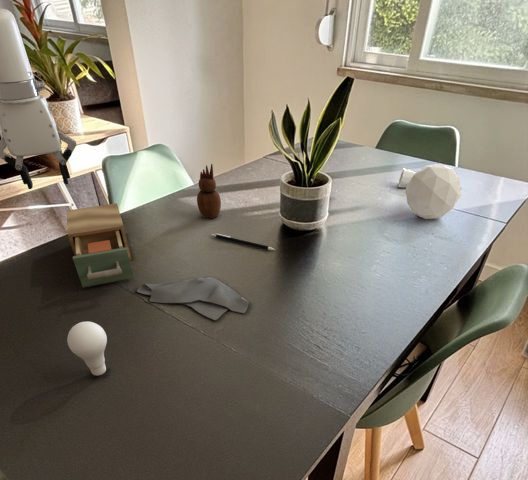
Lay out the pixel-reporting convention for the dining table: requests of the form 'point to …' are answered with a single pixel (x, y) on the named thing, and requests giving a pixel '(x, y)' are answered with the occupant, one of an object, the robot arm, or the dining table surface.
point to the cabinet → (95, 223)
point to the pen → (242, 241)
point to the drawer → (101, 260)
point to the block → (99, 246)
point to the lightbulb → (89, 345)
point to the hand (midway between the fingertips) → (48, 183)
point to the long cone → (405, 177)
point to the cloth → (197, 295)
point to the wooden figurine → (208, 195)
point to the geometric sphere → (433, 191)
